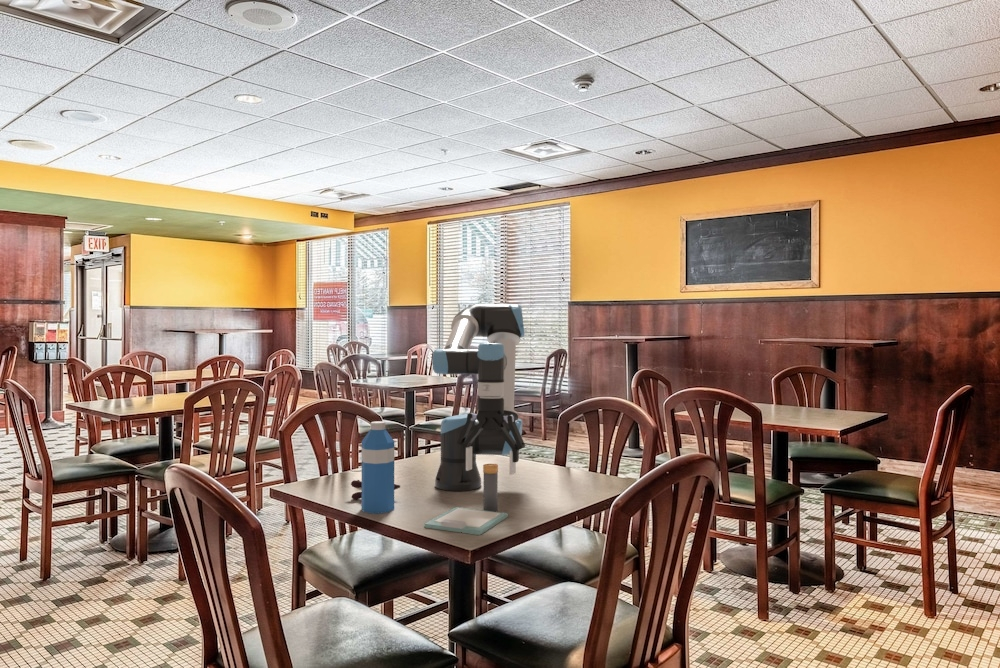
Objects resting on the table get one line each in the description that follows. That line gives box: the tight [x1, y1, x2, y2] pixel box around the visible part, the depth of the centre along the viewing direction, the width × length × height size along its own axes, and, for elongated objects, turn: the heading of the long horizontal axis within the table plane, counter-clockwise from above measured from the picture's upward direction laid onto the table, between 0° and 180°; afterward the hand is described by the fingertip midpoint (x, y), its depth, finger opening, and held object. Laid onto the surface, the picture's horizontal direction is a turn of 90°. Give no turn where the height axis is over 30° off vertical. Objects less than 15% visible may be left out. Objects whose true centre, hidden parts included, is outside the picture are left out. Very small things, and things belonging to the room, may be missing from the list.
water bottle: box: [361, 420, 395, 515], centre depth 195 cm, size 9×9×25 cm
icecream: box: [350, 479, 401, 500], centre depth 206 cm, size 7×7×15 cm
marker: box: [482, 463, 499, 512], centre depth 194 cm, size 4×4×13 cm
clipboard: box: [423, 506, 509, 536], centre depth 182 cm, size 18×16×2 cm
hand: (490, 471), depth 193 cm, fingers open, 13 cm apart
